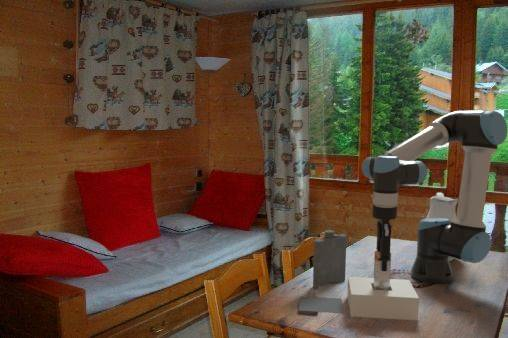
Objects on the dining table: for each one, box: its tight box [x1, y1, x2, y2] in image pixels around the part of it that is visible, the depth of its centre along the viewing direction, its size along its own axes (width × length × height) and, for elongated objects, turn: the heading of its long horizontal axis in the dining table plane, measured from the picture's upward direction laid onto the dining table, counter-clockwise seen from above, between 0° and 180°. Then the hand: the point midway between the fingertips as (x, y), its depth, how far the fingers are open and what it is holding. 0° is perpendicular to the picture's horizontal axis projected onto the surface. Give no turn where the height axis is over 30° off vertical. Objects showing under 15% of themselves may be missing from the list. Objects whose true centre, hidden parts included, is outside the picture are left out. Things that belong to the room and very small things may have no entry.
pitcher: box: [425, 192, 459, 262], centre depth 214 cm, size 24×17×28 cm
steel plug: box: [373, 250, 392, 291], centre depth 153 cm, size 5×5×18 cm
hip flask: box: [312, 229, 347, 290], centre depth 178 cm, size 16×4×20 cm, turn 128°
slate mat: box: [298, 295, 345, 316], centre depth 157 cm, size 14×12×1 cm
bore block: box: [346, 276, 420, 321], centre depth 154 cm, size 20×16×8 cm
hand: (381, 276), depth 153 cm, fingers closed on steel plug, 5 cm apart
